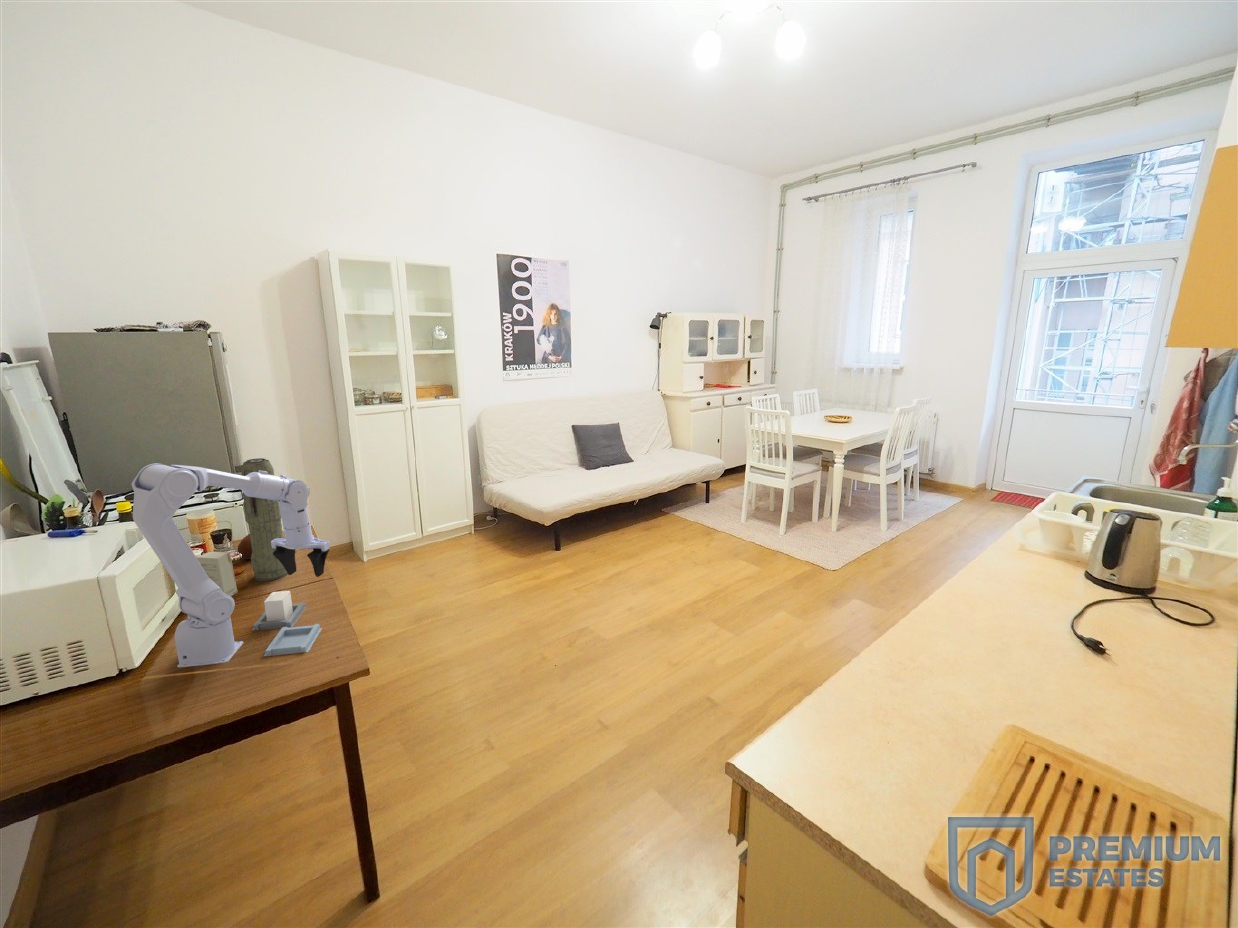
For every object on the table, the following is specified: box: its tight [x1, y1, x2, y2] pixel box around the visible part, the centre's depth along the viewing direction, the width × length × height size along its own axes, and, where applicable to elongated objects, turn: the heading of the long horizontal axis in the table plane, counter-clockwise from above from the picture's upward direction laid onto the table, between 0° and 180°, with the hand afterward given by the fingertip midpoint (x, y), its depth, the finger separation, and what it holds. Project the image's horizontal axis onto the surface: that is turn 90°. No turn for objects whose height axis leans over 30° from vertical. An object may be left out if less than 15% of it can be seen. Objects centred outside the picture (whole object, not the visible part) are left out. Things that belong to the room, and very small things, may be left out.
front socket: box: [263, 623, 323, 657], centre depth 120 cm, size 9×10×2 cm
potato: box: [236, 533, 252, 560], centre depth 166 cm, size 8×12×8 cm, turn 0°
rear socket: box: [251, 602, 308, 632], centre depth 130 cm, size 9×10×2 cm
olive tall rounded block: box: [240, 457, 288, 582], centre depth 150 cm, size 9×12×35 cm
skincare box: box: [196, 551, 238, 597], centre depth 139 cm, size 6×4×12 cm
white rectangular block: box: [263, 590, 293, 621], centre depth 129 cm, size 4×5×6 cm
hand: (306, 574), depth 132 cm, fingers open, 7 cm apart
